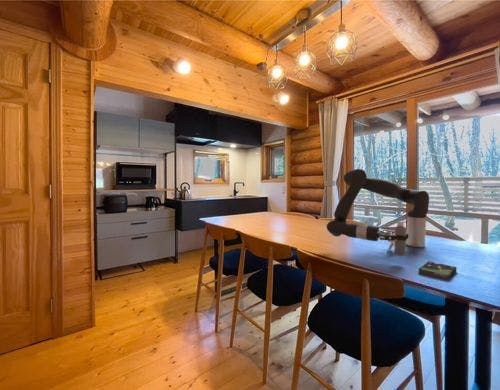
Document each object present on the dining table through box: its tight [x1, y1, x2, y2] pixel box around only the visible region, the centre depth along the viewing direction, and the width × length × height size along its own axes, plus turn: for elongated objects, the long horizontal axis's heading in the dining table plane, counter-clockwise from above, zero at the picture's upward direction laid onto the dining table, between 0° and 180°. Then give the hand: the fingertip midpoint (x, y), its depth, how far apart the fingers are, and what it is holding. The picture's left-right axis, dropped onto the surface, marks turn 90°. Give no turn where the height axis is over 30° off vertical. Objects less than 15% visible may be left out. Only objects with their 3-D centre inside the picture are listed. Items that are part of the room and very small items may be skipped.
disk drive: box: [418, 260, 457, 282], centre depth 106 cm, size 10×3×15 cm
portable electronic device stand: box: [386, 240, 408, 253], centre depth 135 cm, size 9×8×8 cm
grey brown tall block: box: [393, 220, 407, 256], centre depth 116 cm, size 4×4×15 cm
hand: (407, 237), depth 114 cm, fingers closed on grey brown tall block, 4 cm apart
